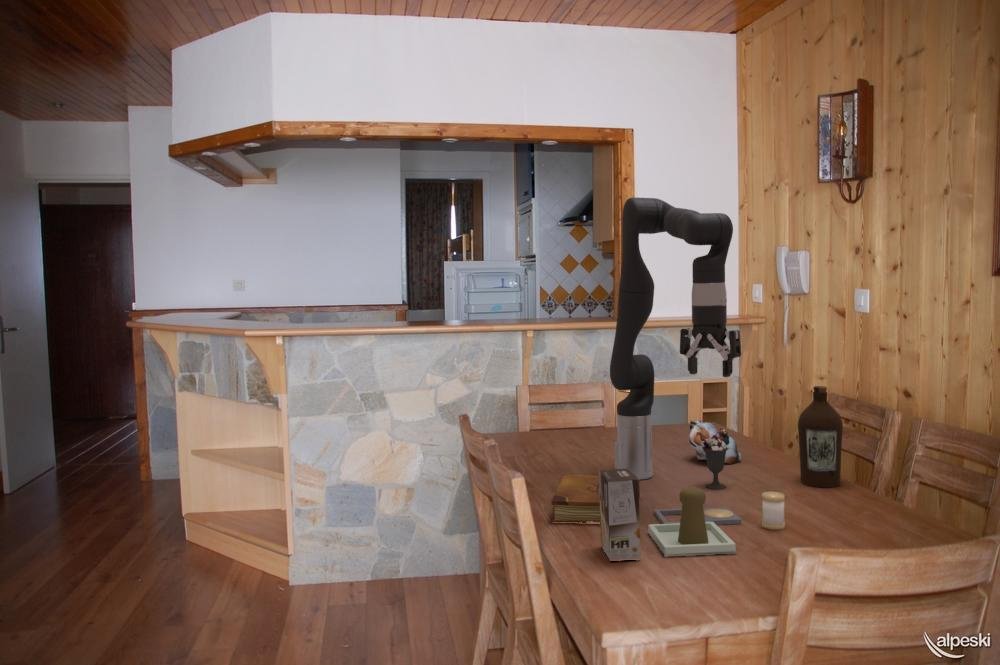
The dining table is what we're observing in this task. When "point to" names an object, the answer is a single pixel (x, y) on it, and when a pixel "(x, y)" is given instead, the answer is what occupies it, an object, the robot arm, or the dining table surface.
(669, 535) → the parts tray
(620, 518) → the coffee box
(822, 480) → the olive oil
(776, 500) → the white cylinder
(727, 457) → the lucky cat figurine
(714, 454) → the sundae
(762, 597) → the dining table surface
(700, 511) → the cork
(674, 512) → the socket block
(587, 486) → the diary
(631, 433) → the robot arm
